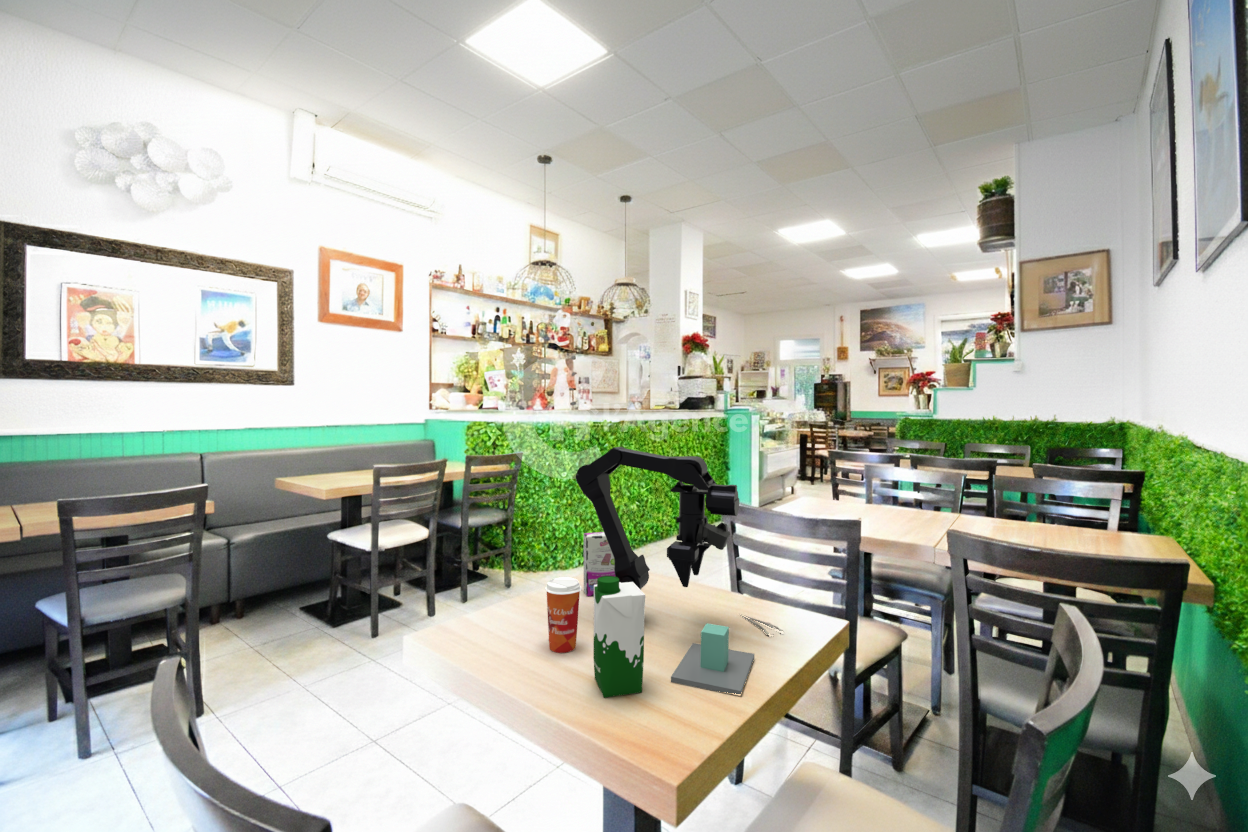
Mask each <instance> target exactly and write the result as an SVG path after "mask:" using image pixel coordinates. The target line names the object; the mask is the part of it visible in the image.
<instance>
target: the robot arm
mask: <svg viewBox="0 0 1248 832" xmlns="http://www.w3.org/2000/svg"><path fill="white" fill-rule="evenodd" d="M705 461H706V460H704V458H702V457H700V456H696V455H695V456H692V455H691V456H690V455H689V456H687V455H684V456H682V455H681V456H668V455H664V454H662V455H661V454H658V453H657V454H656V453H651V452H646V451H640V450H636V449H629V448H625V447H623V446H616V447H612V448H610V449H609V450H607V452H606V453H604V454H603V455H601V456H600V457H598V458H597V459H595V460H593V461H592V462H591V463H589V464H584V465H582V466H580V467H579V468H578V469H577V470H576V474H575V480H576V483H577V485H578V487H579V489H580V490H581V492H582V493H583V495H584V496H586V498H587V499H588V500H589V501H590V502H591V503H592V505H593V508H594V510H595V513H596V515H597V518H598V521H599V523H600V525H601V528H602V532H604V533H605V536H606V538H607V541H608V544H609V546H610V549H611V551H612V554H613V556H614V572H615V577H617V578H619V582H621V583H625V582H634V583H635V585H636V586H637V587H638V588H639V589H640V590H641V591H642V588H644V587H645V586H646V585H647V584H648V581H649V579H650V575H649V574H650V573H649V571H650V570H651V569H650V568H649V566H648V564H647V563H646V558H645V556H644V554H640V555H637V554H636V553H635V552H634V550H633V548H632V546H631V544H630V542H629V538H628V536H627V534H626V531H625V529H624V526H623V524H622V521H621V518H620V516H619V514H618V512H617V508H616V507H615V504H614V502H613V499H612V496H611V480H610V476H609V475H610V474H612V473H614V471H616V469H618V468H620V466H624V467H629V468H630V467H631V468H635V469H640V470H645V471H650V472H655V473H660V474H664V475H667V476H668V477H670V478H671V479H673V480H676V481H677V482H676V483H675V485H673V487H671V489H669V490H670V492H671V493H679V509H678V511H679V512H678V516H677V517H676V523H678V534H676V540H675V541H674V542H673V543H671V544H670V545H669V546H668V547H667V548H666V557H667V558H668V559H669V561H670V562H671V563H672V565H673V567H674V569H675V571H676V574H677V576H678V578H679V581H680V583H681V585H682V587H683V588H688V587H689V584H690V578H691V572H692V575H694V576H699V573H700V570H701V566H702V563H703V558H704V555H705V552H706V551H707V550H708V549H710V547H711V546H713V547H715V548H716V549H718V550H719V551H722V550H724V548H726V546H727V544H728V542H729V539H730V537H731V531H729V528H728V524H727V523H724V522H722V521H721V522H720V523H719V524H718V525H715V524H711V523H709V517H707V515H705V513H706V512H705V509H706V510H707V512H709V513H710V514H711V515H718V516H719V515H720V516H727V517H737V516H738V514H739V508H740V498H739V492H738V486H737V484H729V485H728V484H717V482H716V481H715V479H714V478H713V476H712V475H711V473H709V471H708V466H707V463H706V462H705Z"/></svg>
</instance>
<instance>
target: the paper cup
mask: <svg viewBox="0 0 1248 832" xmlns="http://www.w3.org/2000/svg"><path fill="white" fill-rule="evenodd" d="M544 590H545V591H546V604H547V606H546V607H547V608H546V609H547V626H548V627H547V630H548V644H549V645H548V646H549V650H550V651H551V652H554V653H557V654H565V653H570V652H573V651H574V650H575V649H576V645H577V635H578V621H579V610H580V609H579V608H580V607H579V605H580V592H581V591H582V585H581V584H580V582H579V580H578V579H577V578H573V577H570V576H569V577H567V576H566V577H565V576H564V577H560V576H559V577H555V578H554V577H553V578H552V579H550V580H549V581H547V583H546V586H545V588H544Z"/></svg>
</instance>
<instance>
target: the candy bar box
mask: <svg viewBox="0 0 1248 832" xmlns="http://www.w3.org/2000/svg"><path fill="white" fill-rule="evenodd" d="M602 576H615V572H614V556H613V554H612V551H611V549H610V546H609V544H608V541H607V538H606V536H605V533H604V531H599V532H598V531H597V532H585V533H583V592H584V594H585V596H586V597H594V585H596V584H597V579H598V578H599V577H602Z"/></svg>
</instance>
